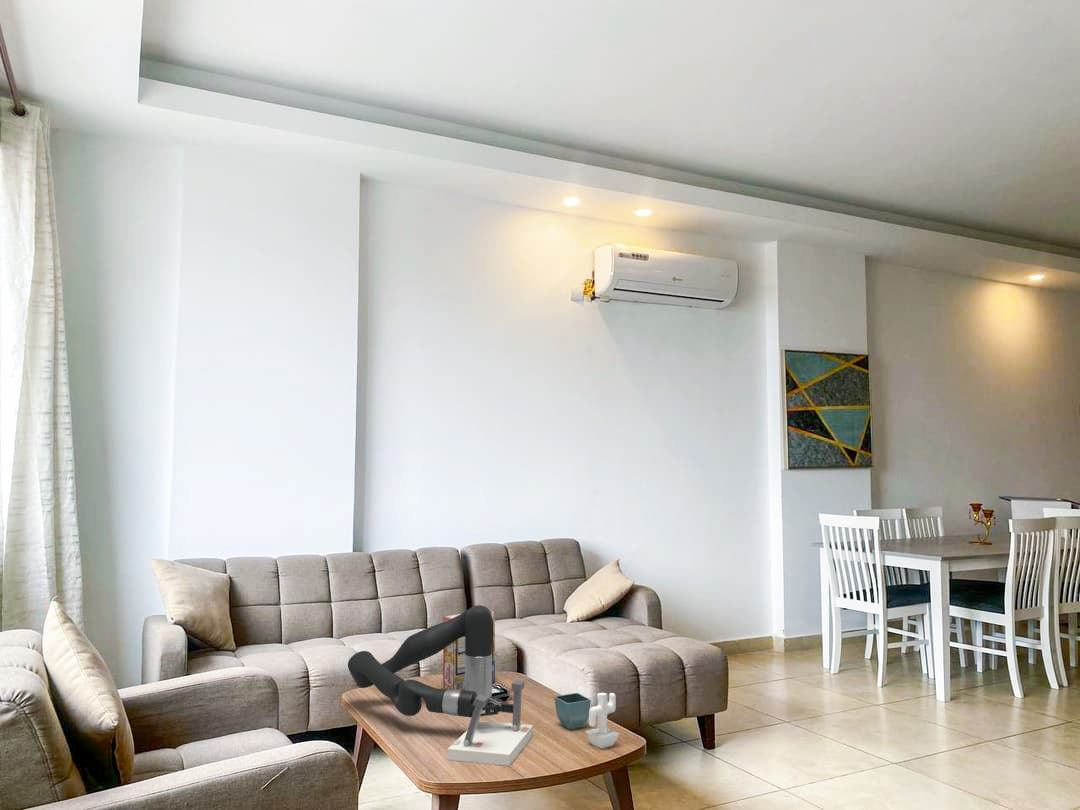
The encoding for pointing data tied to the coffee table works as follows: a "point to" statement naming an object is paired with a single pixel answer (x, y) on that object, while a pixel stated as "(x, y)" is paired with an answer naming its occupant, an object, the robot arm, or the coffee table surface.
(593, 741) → the figurine
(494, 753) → the switch base
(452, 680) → the board game box
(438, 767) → the coffee table surface
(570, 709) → the flower pot
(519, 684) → the lever
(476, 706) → the lever
